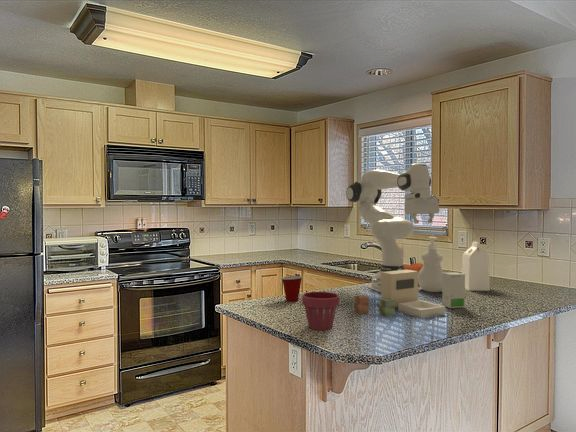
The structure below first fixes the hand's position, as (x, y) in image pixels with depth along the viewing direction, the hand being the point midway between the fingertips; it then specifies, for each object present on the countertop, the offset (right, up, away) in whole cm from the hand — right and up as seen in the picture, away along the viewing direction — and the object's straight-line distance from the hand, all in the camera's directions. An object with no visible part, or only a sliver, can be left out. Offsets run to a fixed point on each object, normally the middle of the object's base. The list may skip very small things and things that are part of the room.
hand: (423, 223), depth 229 cm
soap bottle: (+11, -37, +22) cm, 45 cm away
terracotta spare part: (-34, -39, -24) cm, 57 cm away
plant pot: (-54, -40, -48) cm, 83 cm away
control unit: (-15, -39, -13) cm, 44 cm away
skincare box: (+10, -39, -13) cm, 42 cm away
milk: (+38, -37, +30) cm, 61 cm away
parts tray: (-8, -39, -26) cm, 47 cm away
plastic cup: (-65, -38, -1) cm, 76 cm away
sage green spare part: (-24, -39, -30) cm, 55 cm away
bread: (+8, -37, +49) cm, 62 cm away
